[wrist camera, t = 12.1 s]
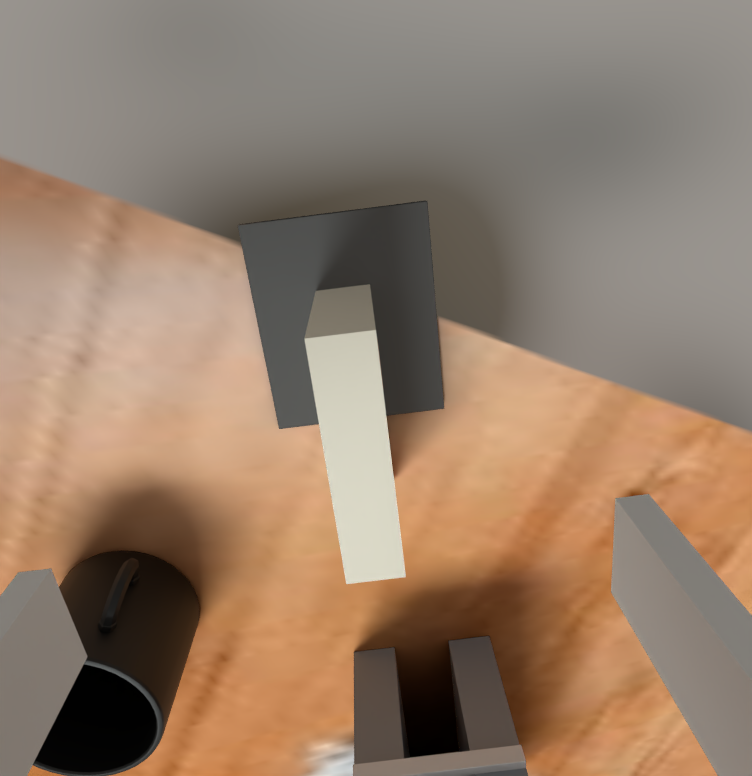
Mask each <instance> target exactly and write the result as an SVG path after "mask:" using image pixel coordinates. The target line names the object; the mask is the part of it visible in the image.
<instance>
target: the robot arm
mask: <svg viewBox="0 0 752 776" xmlns="http://www.w3.org/2000/svg"><path fill="white" fill-rule="evenodd" d="M611 593H612V594H613V596H614V598H615V599H616V601H617V603H618V605H619V606H620V608H621V610H622V612H623V613H624V615H625V617H626V618H627V620H628V622H629V624H630V625H631V627H632V629H633V630H634V632H635V634H636V636H637V637H638V639H639V641H640V643H641V644H642V646H643V648H644V649H645V651H646V653H647V655H648V656H649V658H650V660H651V661H652V663H653V665H654V667H655V668H656V670H657V672H658V673H659V675H660V677H661V679H662V680H663V682H664V684H665V686H666V687H667V689H668V691H669V692H670V694H671V696H672V698H673V699H674V701H675V703H676V704H677V706H678V708H679V710H680V711H681V713H682V715H683V716H684V718H685V720H686V722H687V723H688V725H689V727H690V729H691V730H692V732H693V734H694V735H695V737H696V739H697V741H698V742H699V744H700V746H701V747H702V749H703V751H704V753H705V754H706V756H707V758H708V760H709V761H710V763H711V765H712V766H713V768H714V770H715V772H716V773H717V775H718V776H752V615H751V614H750V613H749V612H748V611H747V610H746V608H745V607H744V606H743V605H742V604H741V602H740V601H739V600H738V599H737V598H736V597H735V595H734V594H733V593H732V592H731V591H730V589H729V588H728V587H727V586H726V585H725V584H724V582H723V581H722V580H721V579H720V578H719V577H718V575H717V574H716V573H715V572H714V571H713V569H712V568H711V567H710V566H709V565H708V564H707V562H706V561H705V560H704V559H703V558H702V556H701V555H700V554H699V553H698V552H697V551H696V549H695V548H694V547H693V546H692V545H691V544H690V542H689V541H688V540H687V539H686V538H685V536H684V535H683V534H682V533H681V532H680V531H679V529H678V528H677V527H676V526H675V525H674V523H673V522H672V521H671V520H670V519H669V518H668V516H667V515H666V514H665V513H664V512H663V511H662V509H661V508H660V507H659V506H658V505H657V503H656V502H655V501H654V500H653V499H652V498H651V496H650V495H649V494H647V495H639V496H631V497H622V498H615V520H614V542H613V564H612V586H611ZM87 657H88V656H87V654H86V652H85V649H84V647H83V644H82V642H81V640H80V637H79V635H78V632H77V630H76V628H75V625H74V623H73V620H72V618H71V615H70V613H69V611H68V608H67V606H66V603H65V601H64V599H63V596H62V594H61V591H60V589H59V587H58V584H57V582H56V579H55V577H54V575H53V572H52V570H51V569H43V570H35V571H27V572H19V573H18V574H17V575H16V576H15V578H14V579H13V580H12V581H11V583H10V584H9V585H8V587H7V588H6V589H5V591H4V592H3V593H2V594H1V596H0V776H27V775H28V773H29V771H30V769H31V767H32V765H33V763H34V761H35V759H36V757H37V755H38V753H39V751H40V749H41V747H42V745H43V743H44V741H45V739H46V737H47V735H48V733H49V731H50V729H51V727H52V726H53V724H54V722H55V720H56V718H57V716H58V714H59V712H60V710H61V708H62V706H63V704H64V702H65V700H66V698H67V696H68V694H69V692H70V690H71V688H72V686H73V684H74V682H75V680H76V678H77V676H78V674H79V672H80V670H81V668H82V667H83V665H84V663H85V661H86V659H87Z"/></svg>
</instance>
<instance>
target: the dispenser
mask: <svg viewBox="0 0 752 776" xmlns="http://www.w3.org/2000/svg"><path fill="white" fill-rule="evenodd" d="M449 651H450V662H451V673H452V683H453V694H454V705H455V715H456V726H457V737H458V747H459V751H458V752H449V753H441V754H433V755H424V756H416V757H410V754H409V747H408V740H407V733H406V726H405V719H404V712H403V704H402V697H401V690H400V683H399V676H398V669H397V662H396V655H395V648H394V647H392V648H384V649H376V650H367V651H359V652H354V765H353V776H528V773H527V770H526V760H525V756H524V753H523V749H522V746H521V745H519V741H518V737H517V734H516V730H515V727H514V723H513V720H512V716H511V712H510V709H509V705H508V702H507V698H506V694H505V691H504V687H503V684H502V680H501V676H500V673H499V669H498V666H497V662H496V659H495V655H494V651H493V648H492V644H491V641H490V637H489V636H484V637H476V638H467V639H459V640H451V641H449Z"/></svg>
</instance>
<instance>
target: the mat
mask: <svg viewBox="0 0 752 776" xmlns="http://www.w3.org/2000/svg"><path fill="white" fill-rule="evenodd" d="M238 229H239V234H240V239H241V244H242V249H243V254H244V259H245V264H246V269H247V273H248V278H249V283H250V288H251V293H252V298H253V303H254V308H255V313H256V318H257V322H258V327H259V332H260V337H261V342H262V347H263V352H264V357H265V362H266V367H267V371H268V376H269V381H270V386H271V391H272V396H273V401H274V406H275V411H276V416H277V420H278V425H279V429H283V428H291V427H299V426H307V425H315V424H319V421H318V415H317V409H316V404H315V398H314V392H313V386H312V380H311V374H310V369H309V363H308V357H307V351H306V345H305V339H304V338H305V334H306V330H307V326H308V321H309V317H310V313H311V309H312V304H313V300H314V296H315V292H316V291H319V290H327V289H335V288H343V287H351V286H359V285H367V284H370V289H371V296H372V304H373V312H374V319H375V327H376V335H377V340H378V348H379V356H380V365H381V373H382V381H383V393H384V401H385V409H386V416H388V415H396V414H404V413H412V412H420V411H428V410H436V409H444V401H443V388H442V376H441V364H440V351H439V339H438V327H437V314H436V302H435V290H434V278H433V265H432V253H431V240H430V229H429V216H428V203H427V201H419V202H411V203H404V204H396V205H389V206H380V207H372V208H365V209H357V210H349V211H341V212H333V213H325V214H317V215H309V216H302V217H294V218H286V219H278V220H271V221H262V222H254V223H247V224H240V225H238Z"/></svg>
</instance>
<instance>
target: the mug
mask: <svg viewBox="0 0 752 776" xmlns="http://www.w3.org/2000/svg"><path fill="white" fill-rule="evenodd" d="M59 589H60V591H61V594H62V596H63V599H64V601H65V603H66V606H67V608H68V611H69V613H70V615H71V618H72V620H73V623H74V625H75V628H76V630H77V632H78V635H79V637H80V640H81V642H82V644H83V647H84V649H85V652H86V654H87V656H88V657H87V659H86V661H85V663H84V665H83V667H82V668H81V670H80V672H79V674H78V676H77V678H76V680H75V682H74V684H73V686H72V688H71V690H70V692H69V694H68V696H67V698H66V700H65V702H64V704H63V706H62V708H61V710H60V712H59V714H58V716H57V718H56V720H55V722H54V724H53V726H52V727H51V729H50V731H49V733H48V735H47V737H46V739H45V741H44V743H43V745H42V747H41V749H40V751H39V753H38V755H37V757H36V759H35V761H34V763H33V765H34V766H36V767H38V768H41V769H43V770H46V771H49V772H53V773H57V774H61V775H66V776H108V775H113V774H117V773H120V772H123V771H126V770H129V769H131V768H133V767H135V766H137V765H138V764H140V763H141V762H143V761H144V760H145V759H147V758H148V757H149V756H150V755H151V754H152V753H153V752H154V750H155V749H156V747H157V746H158V744H159V743H160V740H161V738H162V736H163V733H164V730H165V727H166V724H167V721H168V717H169V714H170V711H171V708H172V705H173V702H174V699H175V695H176V692H177V689H178V686H179V683H180V680H181V676H182V673H183V670H184V667H185V664H186V661H187V657H188V654H189V651H190V648H191V645H192V642H193V638H194V635H195V632H196V629H197V626H198V622H199V616H200V608H199V603H198V599H197V596H196V593H195V591H194V588H193V587H192V585H191V584H190V582H189V581H188V580H187V578H186V577H185V576H184V575H183V574H182V573H181V572H180V571H178V570H177V569H176V568H175V567H173V566H172V565H170V564H169V563H167V562H165V561H163V560H161V559H159V558H156V557H154V556H151V555H148V554H144V553H139V552H132V551H113V552H107V553H102V554H99V555H96V556H93V557H91V558H89V559H87V560H85V561H83V562H81V563H80V564H78V565H77V566H76V567H74V568H73V569H72V570H71V571H70V572H69V573H68V574H67V576H66V577H65V578H64V580H63V581H62V583H61V585H60V586H59Z"/></svg>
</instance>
